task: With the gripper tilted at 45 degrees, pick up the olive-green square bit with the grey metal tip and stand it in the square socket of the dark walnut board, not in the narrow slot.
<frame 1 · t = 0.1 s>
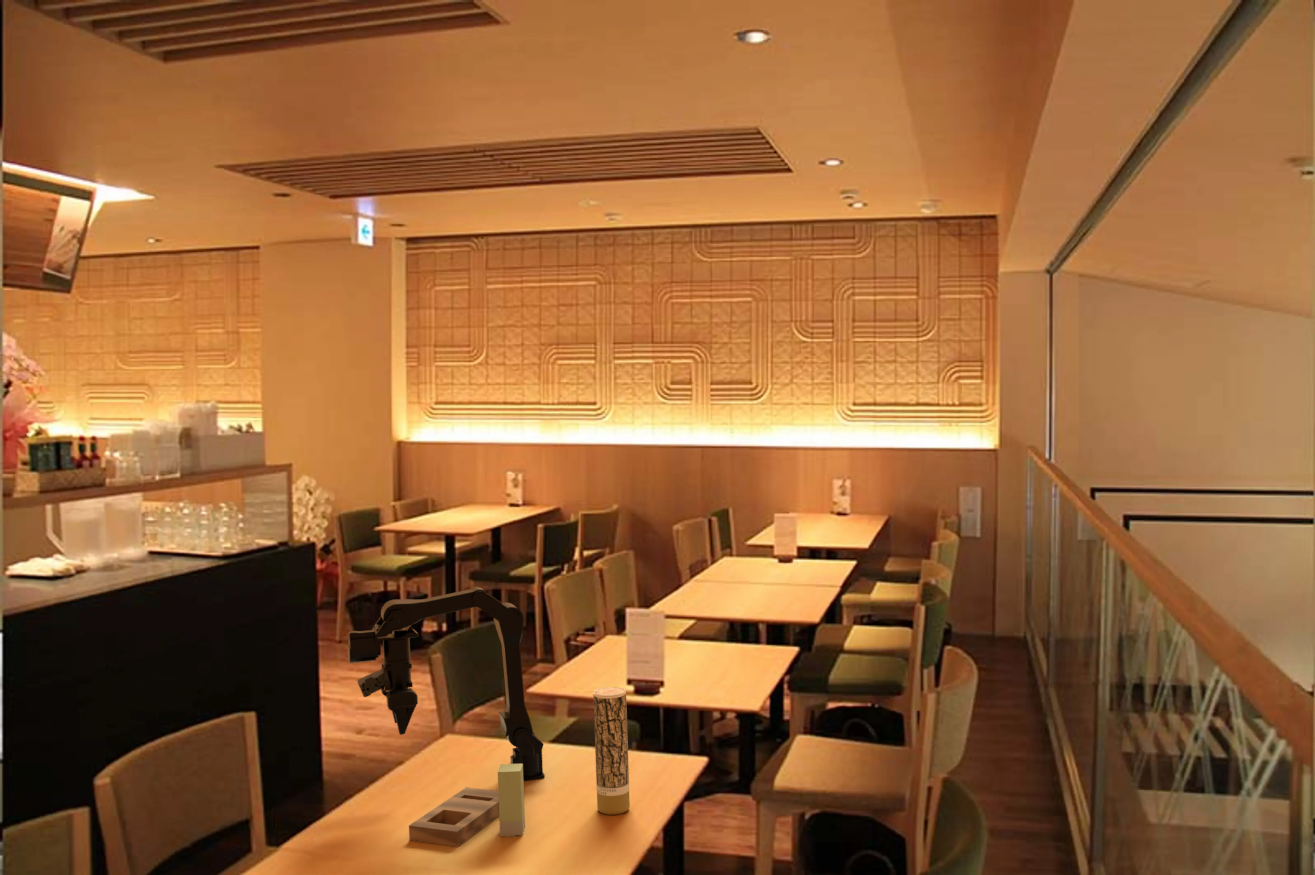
hand: (399, 728, 245), 15 cm above the table, tool pointing down, fingers open, 9 cm apart
square bit: (512, 831, 223), on the table
socket board: (462, 822, 228), on the table
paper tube: (613, 810, 233), on the table
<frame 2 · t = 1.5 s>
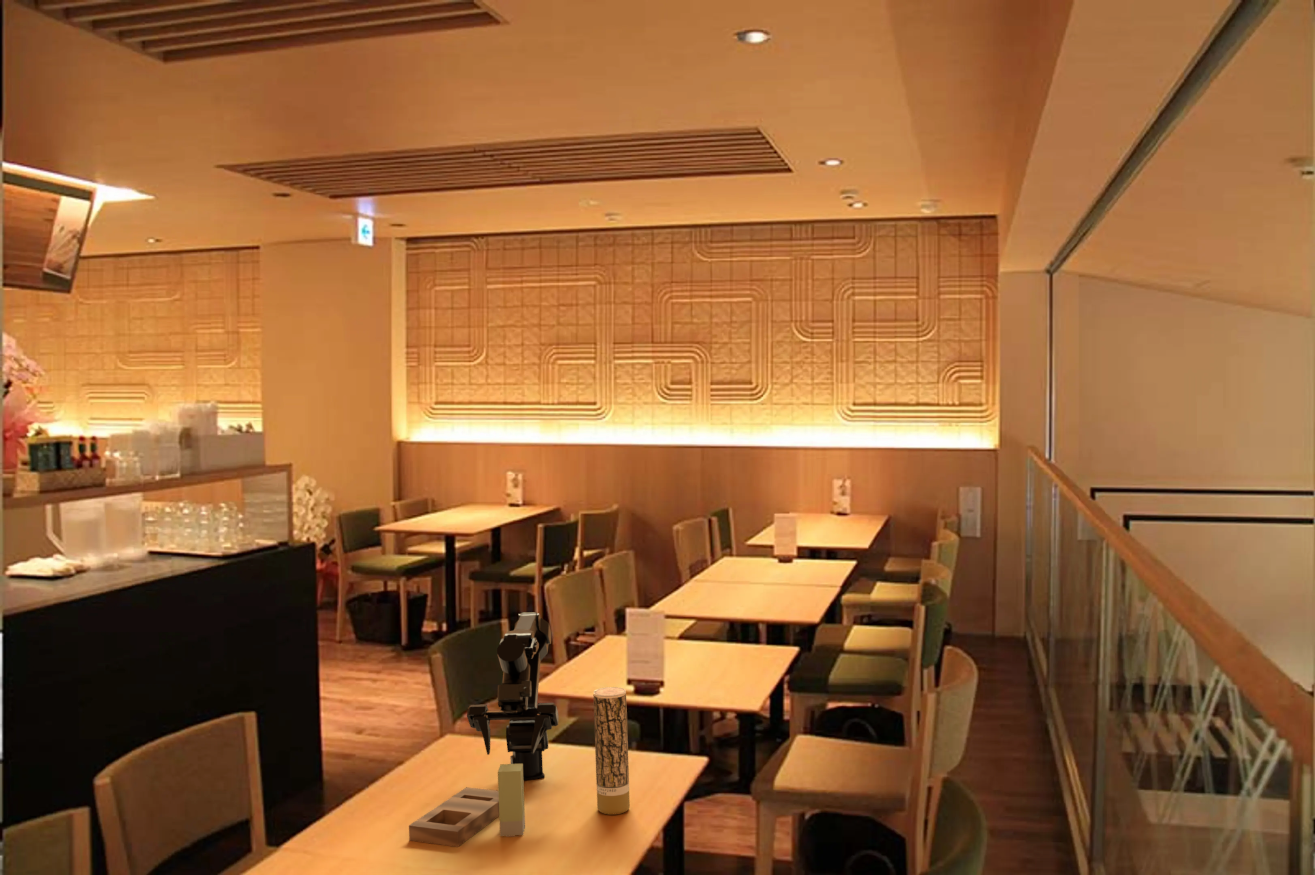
hand: (510, 753, 230), 13 cm above the table, tool tilted 45°, fingers open, 9 cm apart
nothing on the table moved.
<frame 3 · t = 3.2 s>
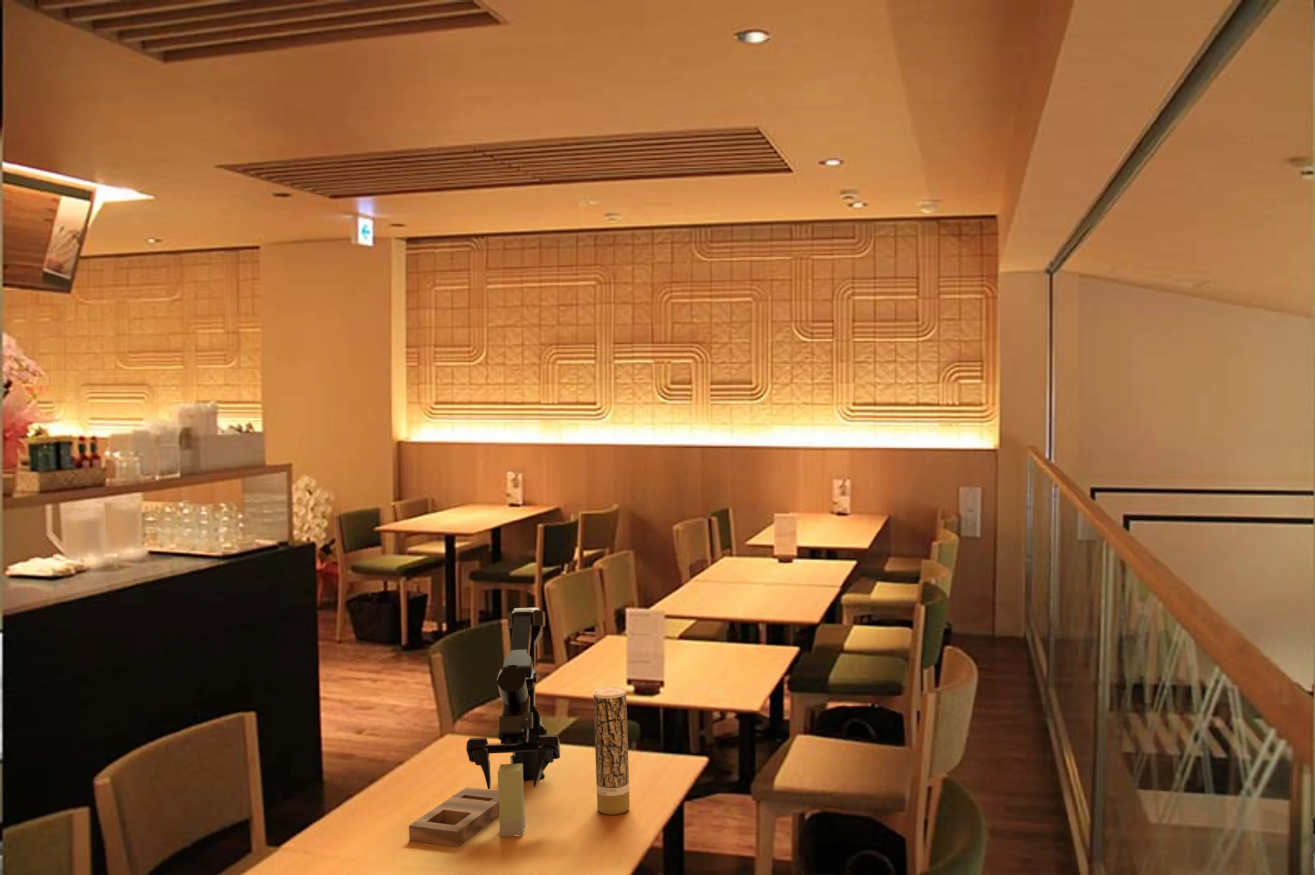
hand: (511, 787, 223), 9 cm above the table, tool tilted 45°, fingers open, 9 cm apart
nothing on the table moved.
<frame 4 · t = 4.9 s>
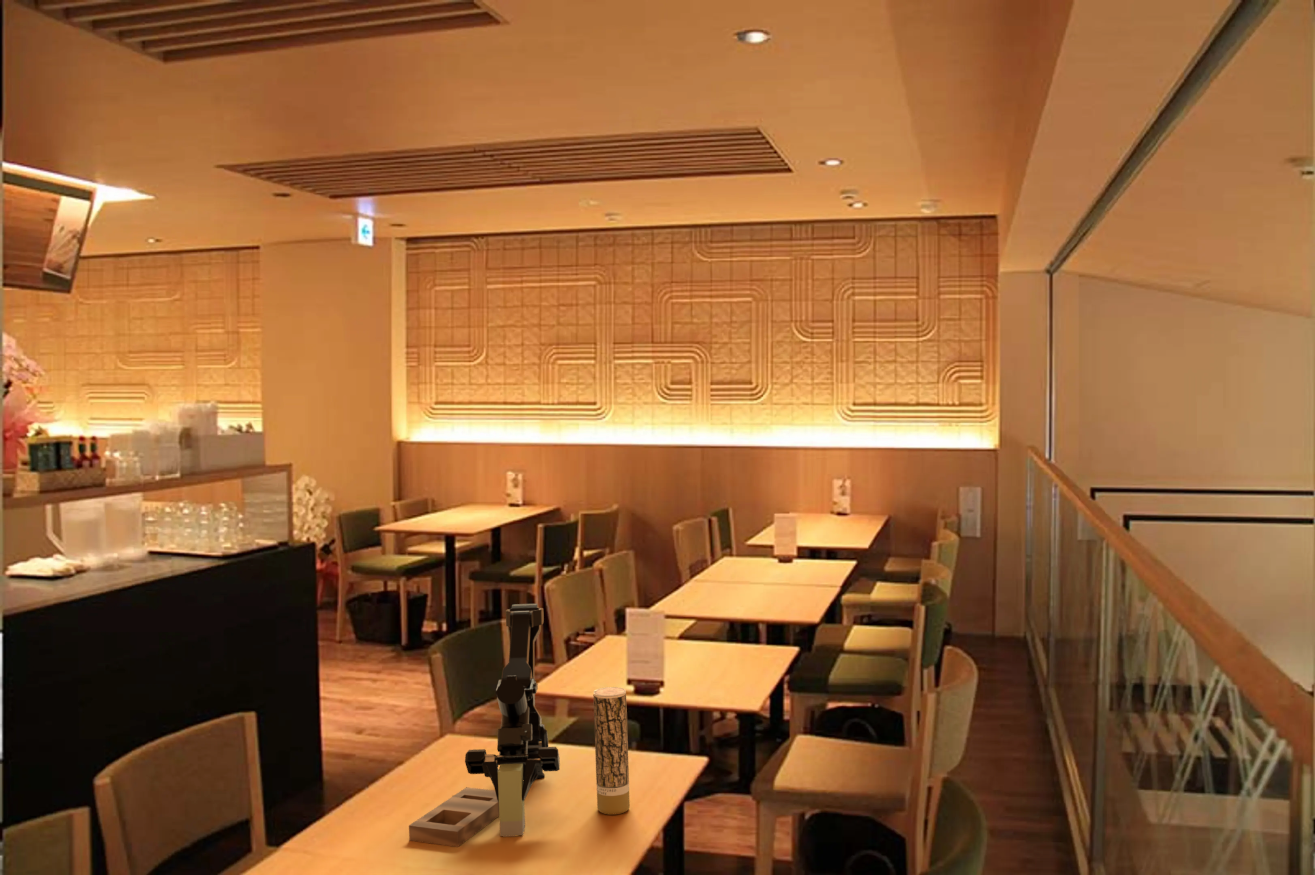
hand: (510, 800, 221), 7 cm above the table, tool tilted 45°, fingers closed on square bit, 4 cm apart
square bit: (512, 831, 223), on the table, touching gripper
everything else where it was.
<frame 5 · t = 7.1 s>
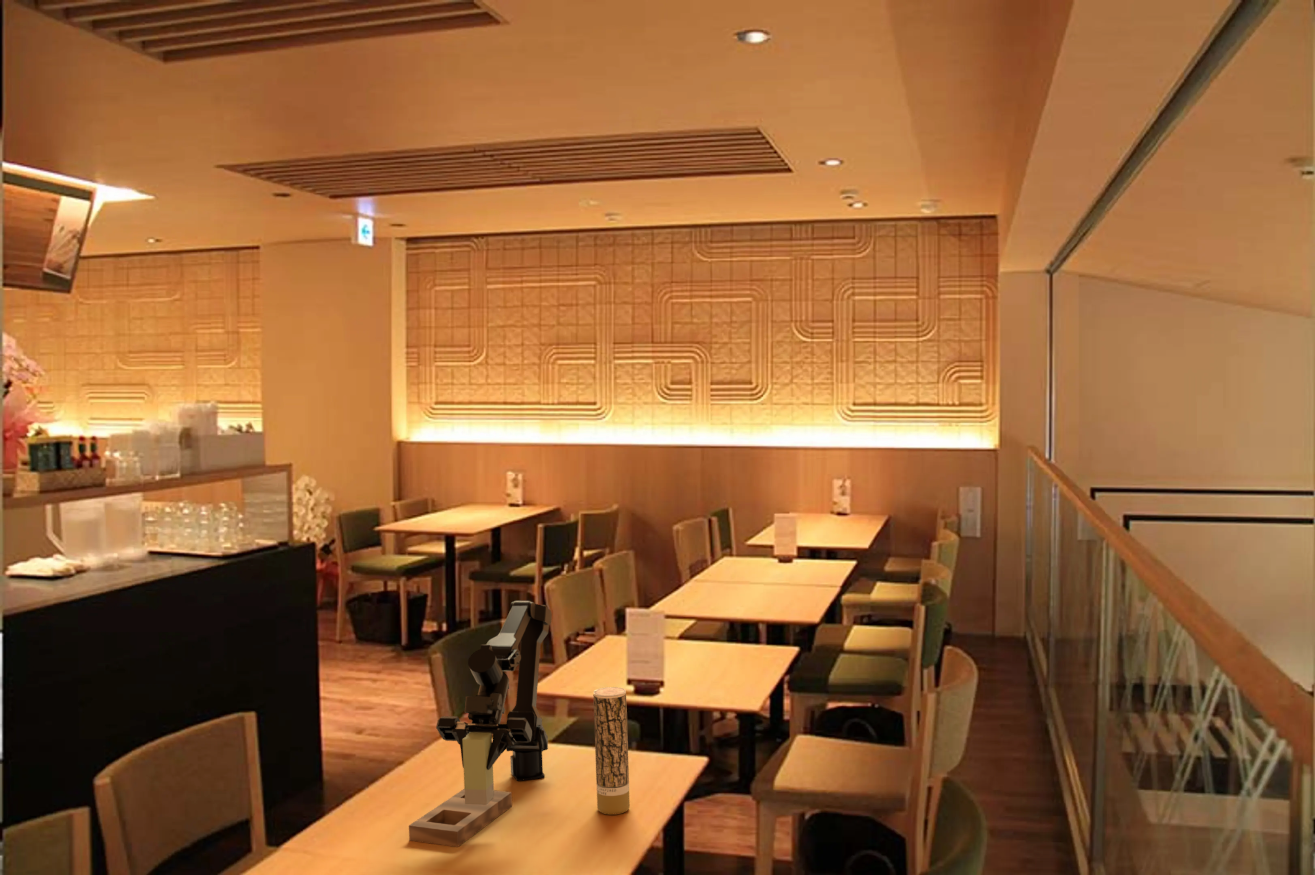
hand: (475, 768, 221), 14 cm above the table, tool tilted 45°, fingers closed on square bit, 4 cm apart
square bit: (479, 800, 222), point 7 cm above the table, touching gripper
everything else where it was.
when the fingers open (8 cm above the table, at t = 9.5 s): square bit drops 1 cm, resting in socket board.
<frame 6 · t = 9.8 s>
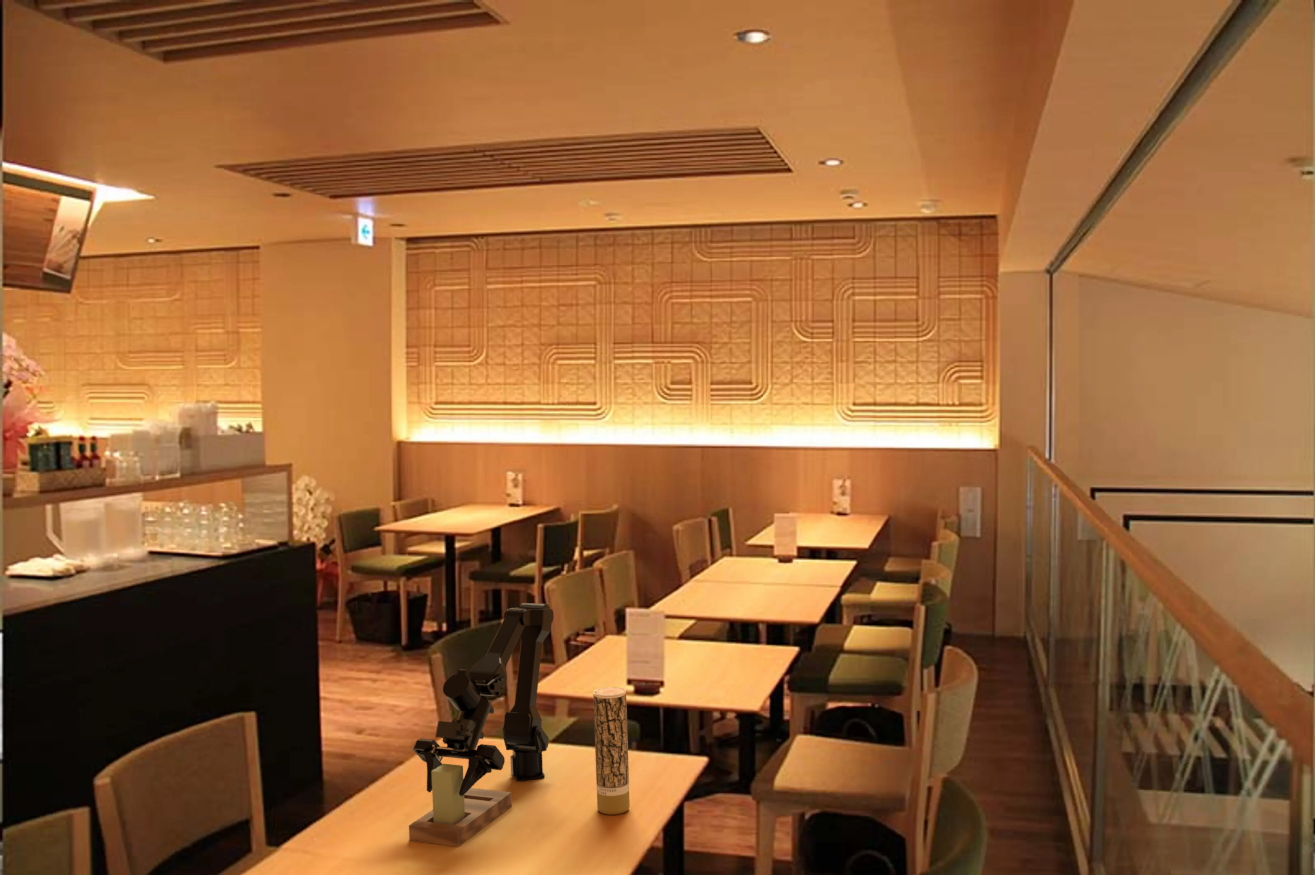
hand: (444, 793, 222), 8 cm above the table, tool tilted 45°, fingers open, 7 cm apart
square bit: (449, 832, 224), resting in socket board
everything else where it was.
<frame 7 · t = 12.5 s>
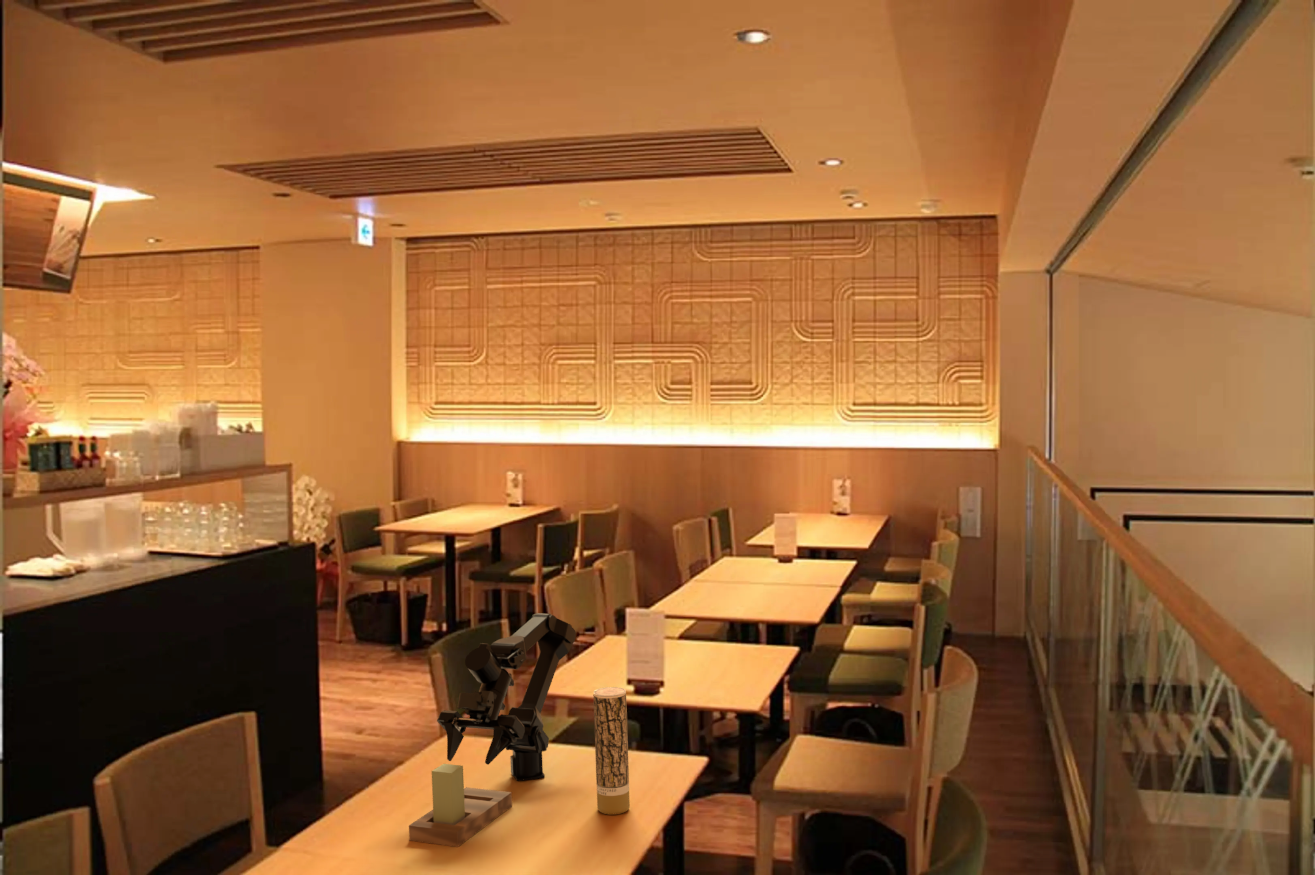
hand: (467, 762, 231), 12 cm above the table, tool tilted 45°, fingers open, 9 cm apart
nothing on the table moved.
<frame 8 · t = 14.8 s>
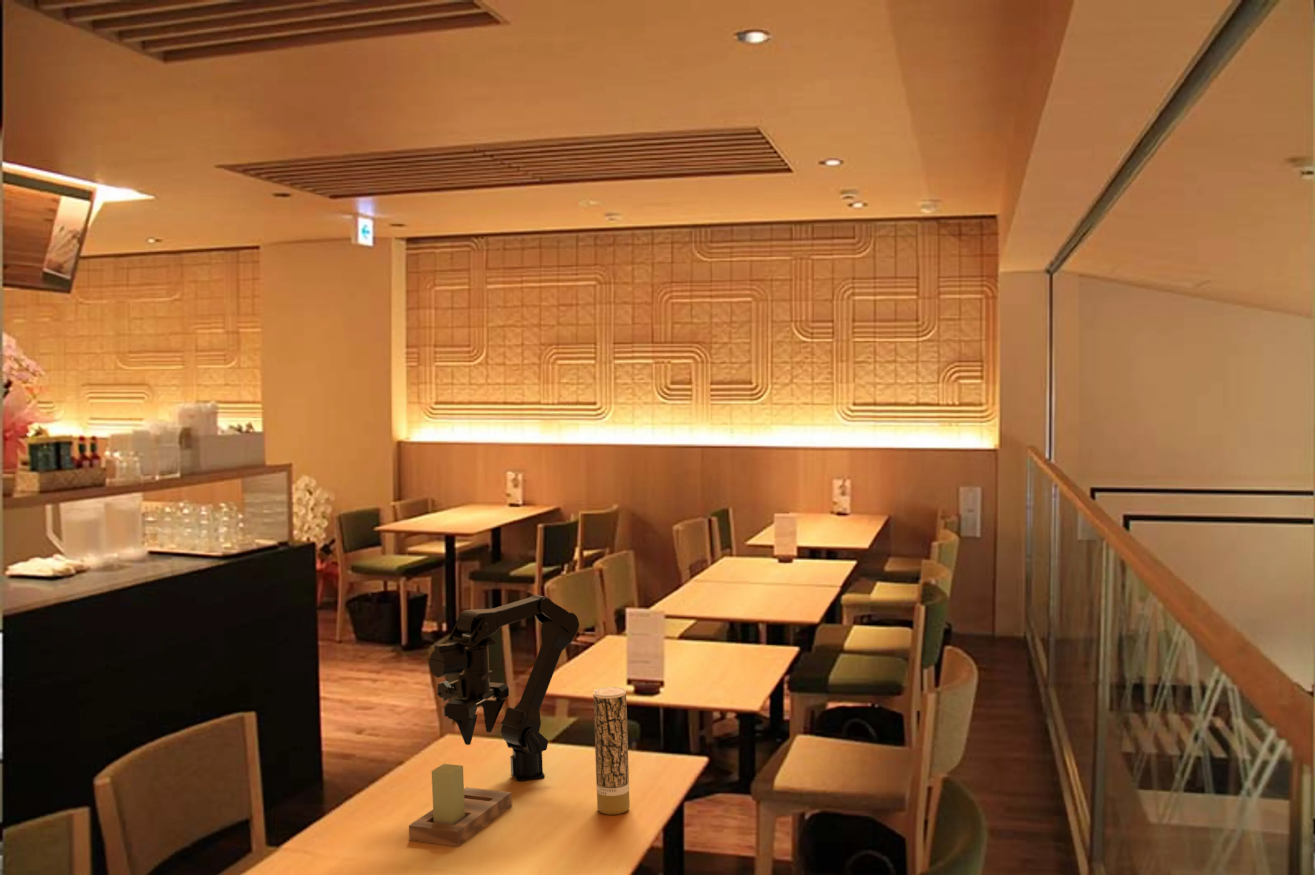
hand: (478, 738, 245), 12 cm above the table, tool pointing down, fingers open, 9 cm apart
nothing on the table moved.
at the end: square bit 0.1 cm from the target spot, resting in socket board; square bit tilted 0°; the gripper is holding nothing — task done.
